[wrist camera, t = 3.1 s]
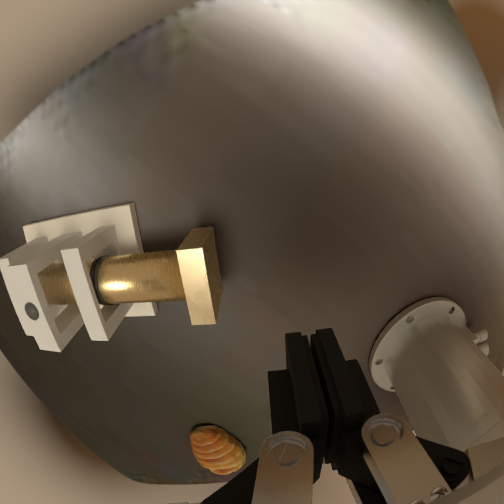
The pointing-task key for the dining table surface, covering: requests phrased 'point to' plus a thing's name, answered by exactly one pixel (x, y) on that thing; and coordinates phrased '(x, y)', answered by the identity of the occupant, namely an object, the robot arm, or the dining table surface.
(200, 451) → the pastry
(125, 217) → the white slotted holder
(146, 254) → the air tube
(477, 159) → the dining table surface
